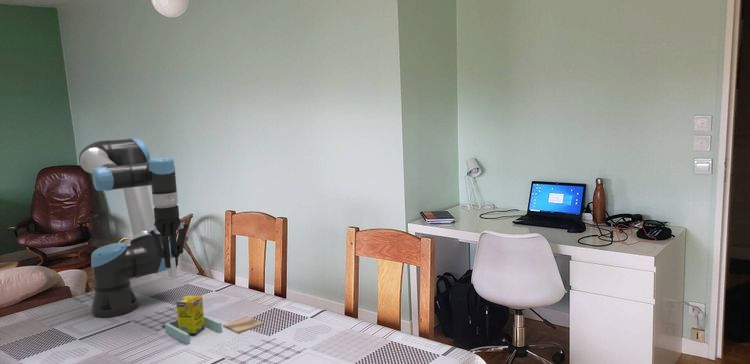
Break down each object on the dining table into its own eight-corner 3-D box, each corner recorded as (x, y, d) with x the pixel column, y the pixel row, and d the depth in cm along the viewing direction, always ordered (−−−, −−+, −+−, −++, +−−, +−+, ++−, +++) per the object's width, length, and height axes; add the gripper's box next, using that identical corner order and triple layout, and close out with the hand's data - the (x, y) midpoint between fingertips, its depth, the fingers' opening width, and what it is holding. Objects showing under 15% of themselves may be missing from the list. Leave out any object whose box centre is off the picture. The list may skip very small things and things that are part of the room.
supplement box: (196, 335, 173) (192, 302, 171) (178, 335, 174) (175, 301, 173) (205, 328, 179) (202, 295, 177) (188, 327, 180) (185, 295, 178)
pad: (223, 326, 179) (223, 324, 179) (247, 318, 186) (246, 316, 186) (238, 333, 173) (238, 331, 173) (262, 324, 180) (262, 322, 180)
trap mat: (161, 326, 182) (161, 325, 181) (187, 318, 188) (186, 317, 188) (172, 332, 176) (172, 332, 176) (198, 324, 182) (198, 323, 182)
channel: (165, 332, 176) (164, 323, 176) (200, 321, 185) (199, 312, 184) (186, 344, 167) (186, 335, 166) (222, 331, 175) (221, 322, 175)
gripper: (151, 210, 170) (158, 284, 174) (190, 203, 180) (196, 273, 183) (140, 207, 176) (148, 279, 179) (179, 201, 185) (185, 269, 188)
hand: (172, 276), depth 181 cm, fingers closed
